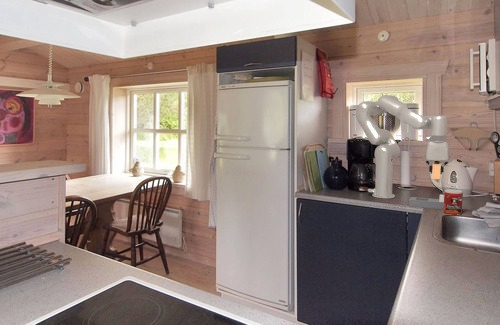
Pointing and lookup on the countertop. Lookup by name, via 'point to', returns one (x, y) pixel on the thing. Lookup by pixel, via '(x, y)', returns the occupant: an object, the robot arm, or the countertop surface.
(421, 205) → the power strip
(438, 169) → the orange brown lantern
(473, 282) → the countertop surface
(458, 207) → the canned food
